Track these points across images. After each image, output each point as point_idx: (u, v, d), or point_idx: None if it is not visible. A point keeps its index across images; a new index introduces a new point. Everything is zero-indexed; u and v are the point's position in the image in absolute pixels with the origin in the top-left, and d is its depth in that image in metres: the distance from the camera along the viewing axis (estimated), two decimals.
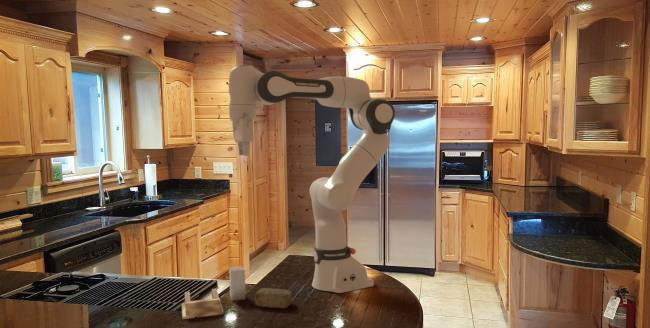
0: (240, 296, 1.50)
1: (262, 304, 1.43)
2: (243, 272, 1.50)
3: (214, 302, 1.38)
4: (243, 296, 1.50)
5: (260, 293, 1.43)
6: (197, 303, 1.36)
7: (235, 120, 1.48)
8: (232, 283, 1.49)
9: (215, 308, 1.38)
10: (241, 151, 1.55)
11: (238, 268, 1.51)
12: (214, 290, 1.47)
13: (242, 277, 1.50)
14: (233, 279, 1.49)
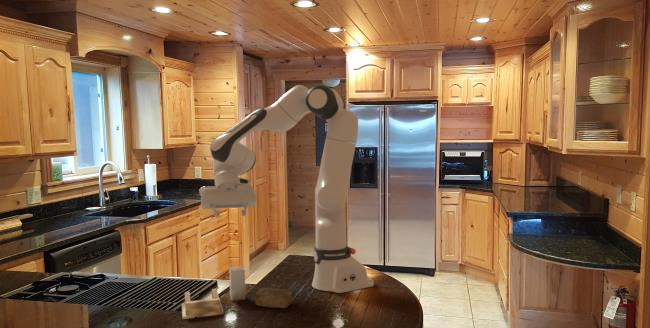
0: (240, 296, 1.50)
1: (262, 304, 1.43)
2: (243, 272, 1.50)
3: (214, 302, 1.38)
4: (243, 296, 1.50)
5: (260, 293, 1.43)
6: (197, 303, 1.36)
7: None
8: (232, 283, 1.49)
9: (215, 308, 1.38)
10: (241, 212, 1.64)
11: (238, 268, 1.51)
12: (214, 290, 1.47)
13: (242, 277, 1.50)
14: (233, 279, 1.49)
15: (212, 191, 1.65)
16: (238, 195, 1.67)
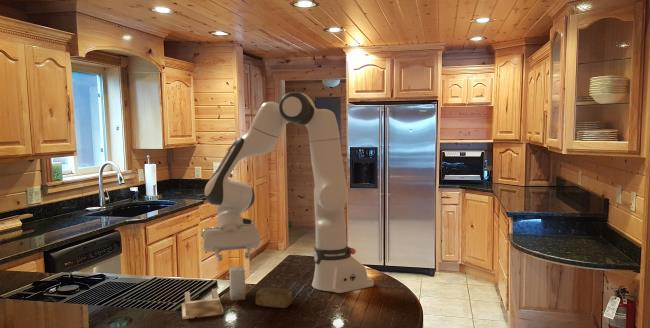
0: (240, 296, 1.50)
1: (262, 303, 1.43)
2: (243, 272, 1.50)
3: (214, 302, 1.38)
4: (243, 296, 1.50)
5: (260, 292, 1.43)
6: (197, 303, 1.36)
7: None
8: (232, 283, 1.49)
9: (215, 308, 1.38)
10: (245, 255, 1.60)
11: (238, 268, 1.51)
12: (214, 290, 1.47)
13: (242, 277, 1.50)
14: (233, 279, 1.49)
15: (215, 233, 1.62)
16: (241, 237, 1.63)
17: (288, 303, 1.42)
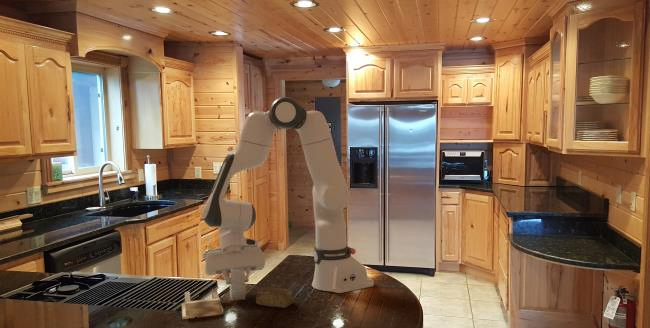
0: (240, 296, 1.50)
1: (263, 303, 1.44)
2: (243, 272, 1.50)
3: (214, 302, 1.38)
4: (243, 296, 1.50)
5: (261, 292, 1.44)
6: (197, 303, 1.36)
7: None
8: (232, 283, 1.49)
9: (215, 308, 1.38)
10: None
11: (238, 268, 1.51)
12: (214, 290, 1.47)
13: (242, 277, 1.50)
14: (233, 279, 1.49)
15: (217, 255, 1.54)
16: (245, 258, 1.56)
17: (288, 303, 1.42)
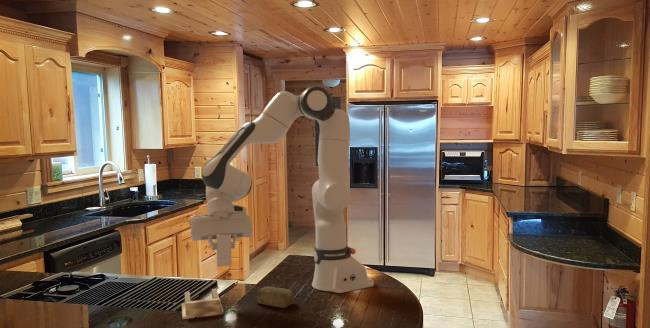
0: (226, 262, 1.46)
1: (263, 302, 1.44)
2: (229, 237, 1.46)
3: (214, 302, 1.38)
4: (229, 262, 1.46)
5: (261, 291, 1.45)
6: (197, 303, 1.36)
7: None
8: (218, 248, 1.45)
9: (215, 308, 1.38)
10: None
11: (224, 233, 1.47)
12: (214, 290, 1.47)
13: (228, 242, 1.46)
14: (219, 244, 1.45)
15: (204, 220, 1.50)
16: (232, 225, 1.52)
17: (287, 303, 1.42)
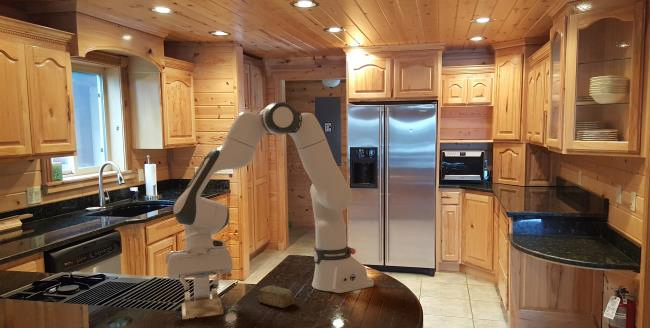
0: None
1: (264, 301, 1.45)
2: (208, 280, 1.39)
3: (214, 302, 1.38)
4: None
5: (262, 290, 1.46)
6: (197, 303, 1.36)
7: None
8: (195, 291, 1.38)
9: (215, 308, 1.38)
10: None
11: (203, 275, 1.41)
12: (214, 290, 1.47)
13: (206, 285, 1.39)
14: (197, 287, 1.38)
15: (181, 257, 1.44)
16: (211, 261, 1.45)
17: (286, 303, 1.42)
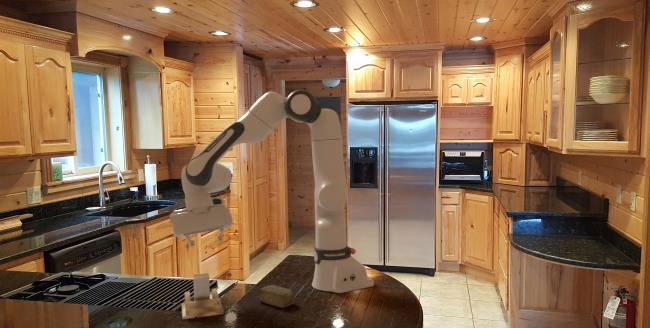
0: None
1: (264, 300, 1.46)
2: (208, 280, 1.39)
3: (214, 302, 1.38)
4: None
5: (263, 289, 1.46)
6: (197, 303, 1.36)
7: None
8: (195, 291, 1.38)
9: (215, 308, 1.38)
10: (217, 238, 1.56)
11: (203, 275, 1.41)
12: (214, 290, 1.47)
13: (206, 285, 1.39)
14: (197, 287, 1.38)
15: (184, 217, 1.54)
16: (213, 219, 1.57)
17: (286, 303, 1.42)
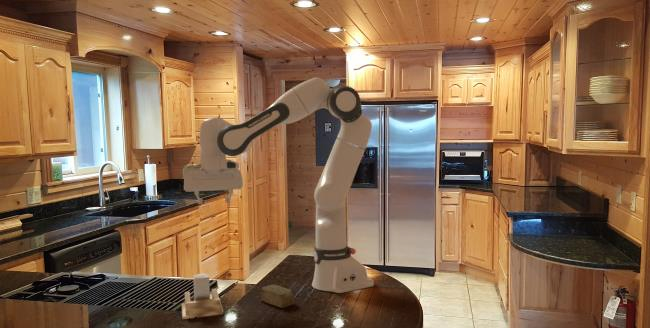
0: None
1: (265, 300, 1.46)
2: (208, 280, 1.39)
3: (214, 302, 1.38)
4: None
5: (264, 289, 1.47)
6: (197, 303, 1.36)
7: None
8: (195, 291, 1.38)
9: (215, 308, 1.38)
10: (225, 198, 1.60)
11: (203, 275, 1.41)
12: (214, 290, 1.47)
13: (206, 285, 1.39)
14: (197, 287, 1.38)
15: (196, 175, 1.55)
16: (224, 181, 1.58)
17: (285, 303, 1.42)
